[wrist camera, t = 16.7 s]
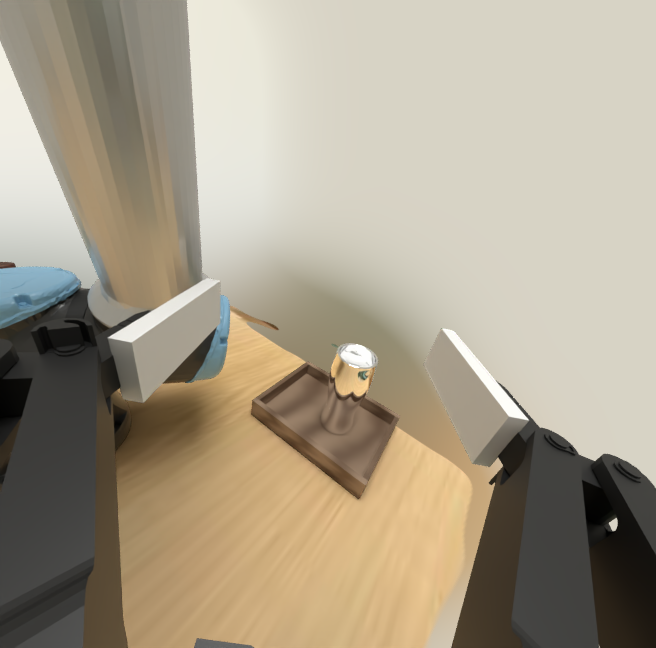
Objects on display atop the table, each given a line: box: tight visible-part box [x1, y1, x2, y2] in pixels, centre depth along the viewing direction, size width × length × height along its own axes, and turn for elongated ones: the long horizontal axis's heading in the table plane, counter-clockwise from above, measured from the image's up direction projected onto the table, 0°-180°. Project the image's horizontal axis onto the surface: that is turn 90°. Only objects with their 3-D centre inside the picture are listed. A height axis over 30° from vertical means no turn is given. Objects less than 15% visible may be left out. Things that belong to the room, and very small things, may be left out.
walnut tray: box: [251, 362, 400, 499], centre depth 45 cm, size 22×16×4 cm
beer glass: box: [321, 343, 378, 435], centre depth 42 cm, size 7×7×15 cm
